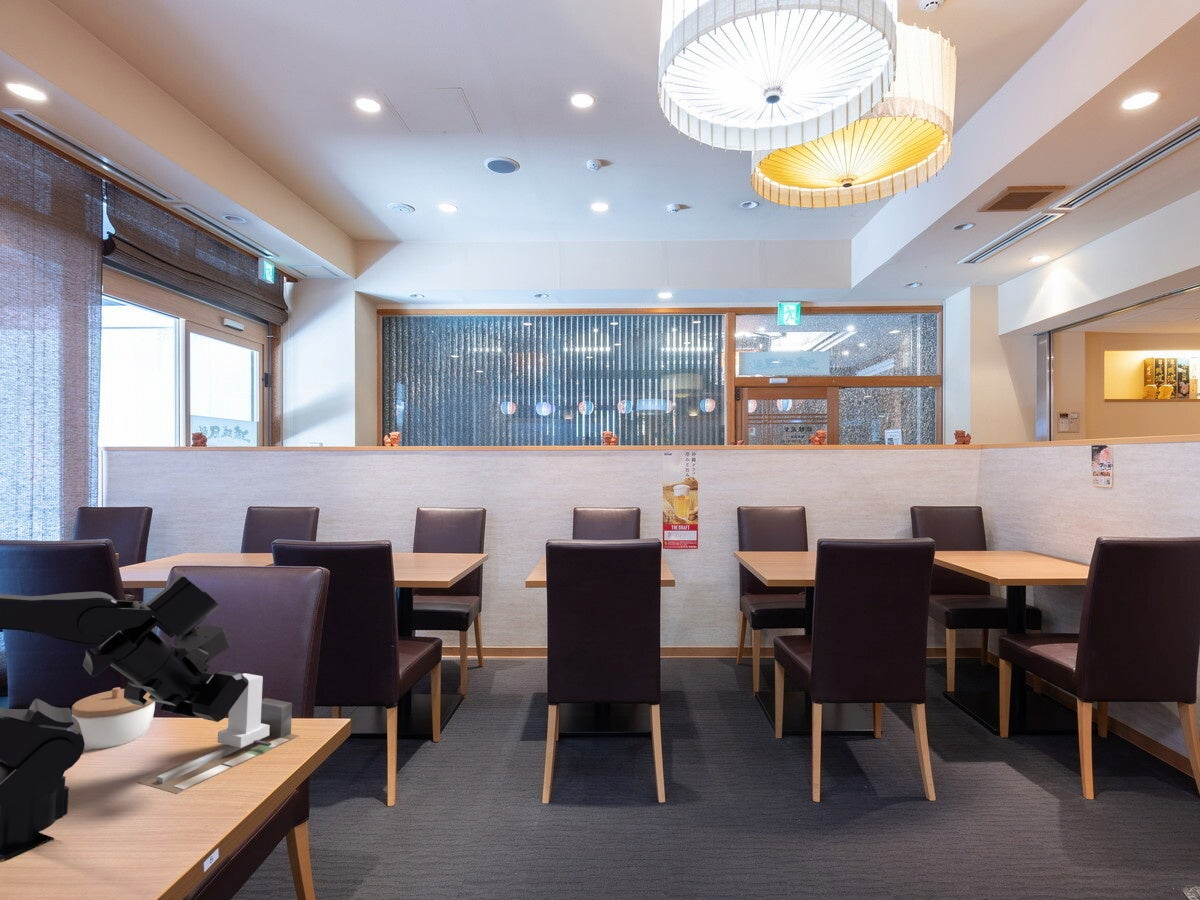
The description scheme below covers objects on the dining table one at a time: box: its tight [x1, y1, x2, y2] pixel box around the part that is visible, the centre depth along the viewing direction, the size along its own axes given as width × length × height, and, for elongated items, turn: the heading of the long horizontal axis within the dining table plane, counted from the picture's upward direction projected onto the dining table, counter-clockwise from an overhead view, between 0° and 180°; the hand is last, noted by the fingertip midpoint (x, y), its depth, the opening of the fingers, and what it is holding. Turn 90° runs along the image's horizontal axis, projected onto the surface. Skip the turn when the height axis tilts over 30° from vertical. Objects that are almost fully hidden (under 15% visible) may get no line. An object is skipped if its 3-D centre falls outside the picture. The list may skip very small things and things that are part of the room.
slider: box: [217, 672, 271, 748], centre depth 94 cm, size 5×8×10 cm, turn 69°
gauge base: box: [137, 697, 300, 795], centre depth 91 cm, size 20×8×6 cm, turn 159°
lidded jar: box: [71, 687, 156, 752], centre depth 97 cm, size 11×11×9 cm
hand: (221, 716), depth 91 cm, fingers closed
